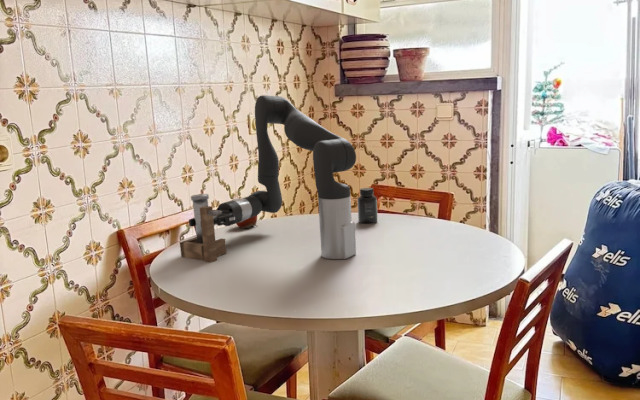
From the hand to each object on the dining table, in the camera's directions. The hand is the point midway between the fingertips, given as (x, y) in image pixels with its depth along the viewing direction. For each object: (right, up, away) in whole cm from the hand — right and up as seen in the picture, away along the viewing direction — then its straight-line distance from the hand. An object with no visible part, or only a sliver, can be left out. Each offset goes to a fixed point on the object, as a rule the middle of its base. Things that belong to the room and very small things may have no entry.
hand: (195, 223), depth 167 cm
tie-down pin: (+2, -8, +4) cm, 9 cm away
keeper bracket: (+4, -10, +2) cm, 11 cm away
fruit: (+10, -3, +37) cm, 39 cm away
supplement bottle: (+54, -1, +34) cm, 64 cm away
